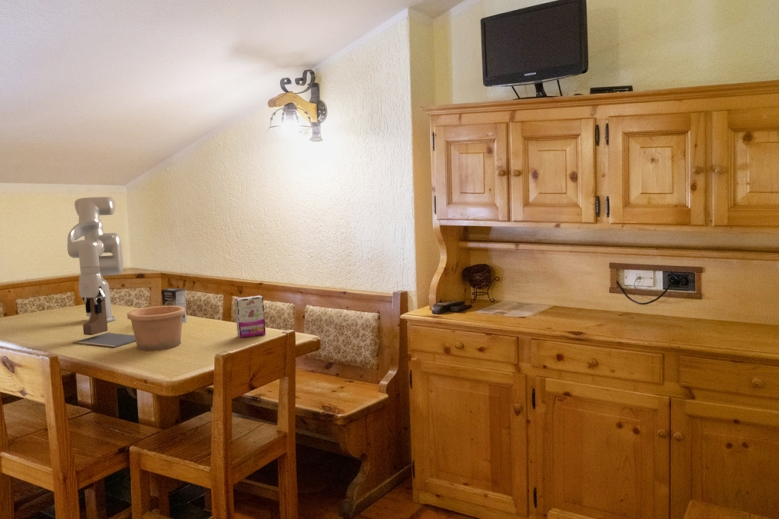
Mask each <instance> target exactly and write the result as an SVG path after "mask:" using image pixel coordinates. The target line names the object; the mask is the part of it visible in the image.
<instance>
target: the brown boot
mask: <svg viewBox="0 0 779 519" xmlns="http://www.w3.org/2000/svg"><path fill="white" fill-rule="evenodd" d="M104 294H105V293H104ZM96 297H98V296H96ZM88 299H90V310H91V317H90V320H89V321H88V322H87V321H86V322H85V323H84V324H82V329H83V330H82V331H83V332H82V333H83V335H84V336H95V335H99V334H103V333H106V332H108V331H109V329H108V328H109V326H108V322H107V315H106V304H105V298H104V299H103V301H102V304H101V306H102V313H98V314H95V310H94V305H95V302H94V298H88ZM97 300H98V298H97Z"/></svg>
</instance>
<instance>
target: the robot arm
mask: <svg viewBox="0 0 779 519" xmlns="http://www.w3.org/2000/svg"><path fill="white" fill-rule="evenodd" d="M74 209H75V211H76V214H77V215H78V222H77V224H75V225H74V226H73V227H72V228H71V230H70V231H69V232H68V234H67V242H66V243H67V245H66V249H67V254H68V256H69V257H71V258H74V259H78V260H79V261H78V262H79V270H80V274H79V275H78V276H79V278H78V293H79V297H80V298H81V299H82V301H83V303H84V305H85V313H86V314H85V316H86V317H88V319H86V323H87V322H88V321H89V320H90V317H91V310H90V299H89V298H94V302H95V305H94V310H95V314H98V313H102V306H101V304H102V301H103V299H104V298H105V304H106V315H107V323H109V322H112V321H115V320H116V316H114V315H112V305H111V294H110V293H111V292H110V284H109V282H108V281H107V280H106V279H105V278H104V276H115V275H116V276H117V275H121V274H122V273H123V272H124V259H123V249H122V248H123V247H122V241H121V237H120V235H119V234H118V233H116V232H106V233H105V232H104V225H103V222H102V221H101V219H100V216H113V215H114V213H115V211H116V202H115V200H114V198H113V197H112V196H95V197H94V196H91V197H81V198H77V199H75V201H74ZM82 237H84V239H80V238H82ZM108 253H111V255H103V254H108ZM104 293H105V294H104ZM96 296H98V297H96ZM97 298H98V300H97Z"/></svg>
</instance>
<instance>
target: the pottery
mask: <svg viewBox="0 0 779 519" xmlns="http://www.w3.org/2000/svg"><path fill="white" fill-rule="evenodd" d="M184 313H185V308H184V307H180V306H163V305H158V306H156V305H155V306H149V307H142V308H137V309H134V310H131V311H129V312H127V314H126V315H127V316H126V317H127V320H129V321H131V326H132V330H133V335H135V339H136V342H135V343H136V348H137V349H138V350H139V351H144V352H155V350H157V351H163V350H164V349H165V350H169V349H173V348H176V347H178V346H179V345H181V343H182V329H183V328H182V327H183V323H182V315H183V314H184Z"/></svg>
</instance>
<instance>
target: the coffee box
mask: <svg viewBox="0 0 779 519" xmlns="http://www.w3.org/2000/svg"><path fill="white" fill-rule="evenodd" d="M161 300H162V303H161V304H162V306H180V307H184V308H185V313H184V314H183V315H182V324H184V323H183V322H185V323H187V322H188V320H187V318H188V317H187V302H186V301H187V300H186V288H178V287H176V288H175V287H169V288H164V289H161ZM186 321H187V322H186Z"/></svg>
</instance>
